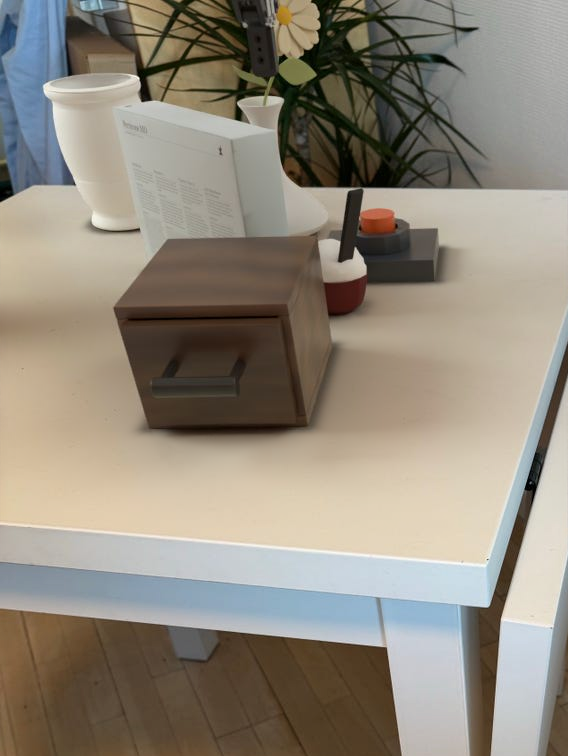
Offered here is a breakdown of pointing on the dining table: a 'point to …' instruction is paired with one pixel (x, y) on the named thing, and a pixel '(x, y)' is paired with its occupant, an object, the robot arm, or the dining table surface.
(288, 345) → the cabinet
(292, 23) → the flower in vase
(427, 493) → the dining table surface
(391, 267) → the console
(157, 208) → the skincare box
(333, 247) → the cocoa
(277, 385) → the drawer
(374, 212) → the button
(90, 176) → the jar
